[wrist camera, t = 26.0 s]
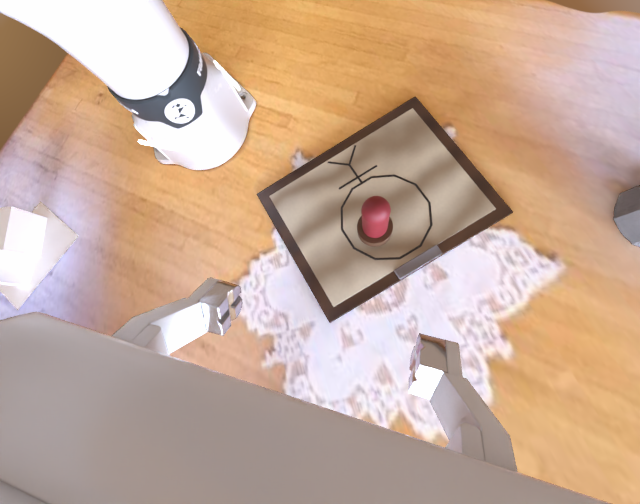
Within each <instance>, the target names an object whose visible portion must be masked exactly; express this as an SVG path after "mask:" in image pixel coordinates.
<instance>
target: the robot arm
mask: <svg viewBox="0 0 640 504" xmlns="http://www.w3.org/2000/svg"><path fill="white" fill-rule="evenodd" d="M0 13H2V14H4V15H6V16H8V17H11V18H13V19H15V20H17V21H19V22H21V23H23V24H25V25H27V26H28V27H30V28H32V29H34V30H36V31H37V32H39V33H41V34H42V35H44V36H46V37H47V38H49V39H50V40H52V41H53V42H54V43H56V44H57V45H59V46H60V47H61V48H62V49H64V50H65V51H66V52H67V53H69V54H70V55H71V56H72V57H74V58H75V59H76V60H77V61H79V62H80V63H81V64H82V65H84V66H85V67H86V68H87V69H88V70H90V71H91V72H92V73H93V74H94V75H95V76H97V77H98V78H99V79H100V80H101V81H102V82H104V83H105V84H106V85H107V87H108V89H109V91H110V92H111V94H112V95H113V96H114V97H115V98H116V99H117V100H118V102H119V103H120V104H121V105H122V106H124V107H125V108H126V109H127V110H129V111H130V112H132V118H133V121H134V127H135V128H136V129H137V130H138V131H139V132H140V133H141V134H142V135H143V136H144V137H145V138H146V139H147V140H148V141H143V140H138V142H139V143H140V144H142V145H148V146H153V148H154V153H155V157H156V159H157V160H158V161H159V162H160V163H162V164H178V165H181V166H183V167H185V168H188V169H192V170H206V169H211V168H214V167H217V166H219V165H221V164H223V163H224V162H226V161H227V160H229V159H230V158H231V157H232V156H233V155H234V154H235V153H236V152H237V151H238V150H239V148H240V147H241V145H242V144H243V142H244V140H245V137H246V134H247V130H248V123H249V118H250V116H251V115H252V113H253V111H254V109H255V107H256V101H255V99H254V98H253V96H252V95H251V94H250V93H249V92H247V91H246V90H245V89H244V88H243V87H242V86H241V85H240V84H239V83H238V82H237V81H236V80H235V79H234V78H233V77H232V76H231V75H230V74H229V73H228V72H227V71H226V70H225V69H224V68H223V67H222V66H221V65H220V64H218V63H217V62H216V61H215V60H214V59H213V58H212V57H211V56H210V55H209V54H208V53H201V52H200V50H199V48H198V47H197V45H196V44H195V42H194V41H193V40H192V38H191V37H190V36H189V35H188V34H187V32H186V31H184V30H183V29H182V28H180V27H179V25H178V24H177V22H176V21H175V19H174V18H173V16H172V14H171V13H170V11H169V10H168V8H167V7H166V5H165V3H164V2H163V0H0ZM244 98H245V99H244ZM243 99H244V100H243ZM240 293H241V287H240V286H239V285H236V284H232V283H229V282H225V281H222V280H218V279H214V278H211V277H210V278H208V279H207V280H206V281H205V282H204V283H203V284H202V285H201V286H199V287H198V288H197V289H196V290H195V291H194V292H193V293H192V294H191V295H190V296H189V297H188V298H183V299H180V300H178V301H175V302H172V303H170V304H167V305H164V306H161V307H159V308H156V309H153V310H151V311H148V312H145V313H143V314H140V315H137V316H135V317H132V318H131V319H130V320H129V321H128V322H127V323H126V324H124V325H123V326H122V327H121V328H120V329H119V330H118V331H116V332H115V333H114V334H113V335H112V336H109V335H106V334H103V333H100V332H97V331H94V330H91V329H88V328H85V327H82V326H79V325H76V324H73V323H70V322H67V321H64V320H61V319H58V318H56V317H53V316H50V315H47V314H44V313H40V312H31V313H27V314H22V315H18V316H14V317H10V318H7V319H3V320H0V504H611V503H608V502H605V501H602V500H599V499H596V498H593V497H590V496H587V495H584V494H581V493H578V492H575V491H572V490H569V489H566V488H563V487H560V486H557V485H554V484H551V483H548V482H545V481H542V480H539V479H536V478H533V477H530V476H527V475H524V474H521V473H518V472H517V467H516V463H515V458H514V453H513V449H512V444H511V439H510V436H509V434H508V433H507V432H506V430H505V429H504V428H503V426H502V425H501V424H500V422H499V421H498V420H497V418H496V417H495V416H494V414H493V413H492V412H491V410H490V409H489V408H488V406H487V405H486V404H485V402H484V401H483V400H482V398H481V397H480V396H479V394H478V393H477V392H476V390H475V389H474V388H473V386H472V385H471V384H470V382H469V381H468V380H467V379H466V378H463V375H462V366H461V358H460V349H459V344H458V343H456V342H452V341H448V340H444V339H440V338H436V337H432V336H428V335H424V334H421V333H419V335H418V337H417V342H416V346H414V348H413V351H412V355H411V359H410V370H411V374H410V377H409V389H408V393H411V394H414V395H417V396H420V397H423V398H426V399H429V400H430V403H431V405H432V407H433V409H434V411H435V413H436V415H437V417H438V419H439V421H440V423H441V425H442V427H443V429H444V431H445V433H446V435H447V437H448V439H449V443H448V444H447V446H446V447H445V448H444V447H441V446H438V445H435V444H432V443H429V442H426V441H423V440H420V439H417V438H414V437H411V436H408V435H405V434H402V433H399V432H396V431H393V430H390V429H387V428H384V427H381V426H378V425H375V424H372V423H369V422H366V421H363V420H360V419H357V418H354V417H351V416H348V415H345V414H342V413H339V412H336V411H333V410H330V409H327V408H324V407H321V406H318V405H315V404H312V403H309V402H306V401H303V400H300V399H297V398H294V397H291V396H288V395H285V394H282V393H279V392H276V391H273V390H270V389H267V388H264V387H262V386H259V385H256V384H253V383H250V382H247V381H244V380H241V379H238V378H235V377H232V376H229V375H226V374H223V373H220V372H217V371H214V370H211V369H208V368H205V367H202V366H199V365H196V364H193V363H190V362H187V361H184V360H181V359H178V358H175V357H172V356H170V353H172V352H173V351H175V350H177V349H179V348H180V347H182V346H184V345H186V344H187V343H189V342H191V341H192V340H194V339H196V338H198V337H199V336H201V335H203V334H204V333H206V331H207V332H211V333H214V334H218V335H222V336H224V334H225V333H226V331H227V330H228V329H229V327H230V326H231V321H232V320H234V319H236V318H237V316H238V315H239V313H240V311H241V308H242V299H241V297H240V296H239V294H240Z"/></svg>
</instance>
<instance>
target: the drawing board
mask: <svg viewBox="0 0 640 504" xmlns="http://www.w3.org/2000/svg"><path fill="white" fill-rule="evenodd" d="M257 196H258V197H259V199H260V201H261V203H262V204H263V206H264V208H265V210H266V211H267V213H268V215H269V217H270V218H271V220H272V222H273V224H274V225H275V227H276V229H277V231H278V233H279V234H280V236H281V238H282V240H283V241H284V243H285V245H286V247H287V248H288V250H289V252H290V254H291V255H292V257H293V259H294V261H295V262H296V264H297V266H298V268H299V270H300V271H301V273H302V275H303V277H304V278H305V280H306V282H307V284H308V285H309V287H310V289H311V291H312V292H313V294H314V296H315V298H316V299H317V301H318V303H319V305H320V306H321V308H322V310H323V312H324V314H325V315H326V317H327V319H328V321H329V322H330V323H331V322H332V321H334V320H336V319H337V318H339V317H341V316H342V315H344V314H346V313H347V312H349V311H351V310H352V309H354V308H356V307H357V306H359V305H361V304H362V303H364V302H366V301H367V300H369V299H371V298H372V297H374V296H376V295H377V294H379V293H381V292H382V291H384V290H385V289H387V288H389V287H390V286H392V285H394V284H395V283H397V282H399V281H400V280H402V279H404V278H405V277H407V276H409V275H410V274H412V273H414V272H415V271H417V270H419V269H420V268H422V267H424V266H425V265H427V264H429V263H430V262H432V261H434V260H435V259H437V258H439V257H440V256H442V255H444V254H445V253H447V252H449V251H450V250H452V249H454V248H455V247H457V246H458V245H460V244H462V243H463V242H465V241H467V240H468V239H470V238H472V237H473V236H475V235H477V234H478V233H480V232H482V231H483V230H485V229H487V228H488V227H490V226H492V225H493V224H495V223H497V222H498V221H500V220H502V219H503V218H505V217H507V216H508V215H510V214H512V213H513V211H512V210H511V209H510V208H509V207H508V205H507V204H506V203H505V202H504V201H503V199H502V198H501V197H500V196H499V195H498V194H497V192H496V191H495V190H494V189H493V188H492V186H491V185H490V184H489V183H488V182H487V181H486V179H485V178H484V177H483V176H482V175H481V173H480V172H479V171H478V170H477V169H476V168H475V166H474V165H473V164H472V163H471V162H470V160H469V159H468V158H467V157H466V156H465V155H464V153H463V152H462V151H461V150H460V149H459V147H458V146H457V145H456V144H455V143H454V141H453V140H452V139H451V138H450V137H449V136H448V134H447V133H446V132H445V131H444V130H443V128H442V127H441V126H440V125H439V124H438V123H437V121H436V120H435V119H434V118H433V117H432V115H431V114H430V113H429V112H428V111H427V110H426V108H425V107H424V106H423V105H422V104H421V102H420V101H419V100H418V99H417V98H416V97H414V98H412V99H410V100H409V101H407V102H405V103H404V104H402V105H401V106H399V107H397V108H396V109H394V110H392V111H391V112H389V113H388V114H386V115H384V116H383V117H381V118H379V119H378V120H376V121H375V122H373V123H371V124H370V125H368V126H366V127H365V128H363V129H362V130H360V131H358V132H357V133H355V134H353V135H352V136H350V137H349V138H347V139H345V140H344V141H342V142H340V143H339V144H337V145H336V146H334V147H332V148H331V149H329V150H327V151H326V152H324V153H323V154H321V155H319V156H318V157H316V158H314V159H313V160H311V161H310V162H308V163H306V164H305V165H303V166H301V167H300V168H298V169H297V170H295V171H293V172H292V173H290V174H288V175H287V176H285V177H284V178H282V179H280V180H279V181H277V182H275V183H274V184H272V185H271V186H269V187H267V188H266V189H264V190H262V191H261V192H259V193H258V194H257ZM372 196H381V197H383V198H385V199H386V200H387V201H388V202H389V204H390V208H391V212H390V218H391V220H392V222H393V231H392V234H391V237H390V239H389V240H388V241H387V242H386V243H385V244H383V245H381V246H378V247H372V246H368V245H366V244H364V243H363V242H362V241H361V240H360V238H359V236H358V232H357V223H358V220H359V218H360V217H361V216H362V214H361V208H362V205H363V203H364V202H365V200H367V199H368V198H369V197H372Z"/></svg>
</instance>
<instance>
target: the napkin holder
mask: <svg viewBox="0 0 640 504" xmlns="http://www.w3.org/2000/svg"><path fill="white" fill-rule="evenodd" d="M34 208H35V209H34V210H33V211H32V213H31V212H27V211H24V210H21V209H18V208H15V207H12V206H11V207H3V208H0V291H1V293H2V294H3V295H4V296H5V297H6V298H7V299H8V300H9V301H10V302H11V304H12V305H13V306H14V307H15V308H16V309H17V310H18V309H19V308H20V307H21V306H22V304H23V303H24V302H25V301H26V300H27V298H28V297H29V296H30V295H31V294H32V292H33V291H34V290H35V289H36V287H37V286H38V285H39V284H40V283H41V281H42V280H43V279H44V278H45V277H46V275H47V274H48V273H49V272H50V270H51V269H52V268H53V267H54V266H55V264H56V263H57V262H58V261H59V259H60V258H61V257H62V256H63V255H64V253H65V252H66V251H67V250H68V249H69V247H70V246H71V245H72V244H73V242H74V241H75V240H76V239H77V238H78V235H77V234H76V233H75V232H74V231H73V230H71V229H70V228H69V227H68V226H67V225H66V224H65V223H64V222H63V221H62V220H60V219H59V218H58V217H57V216H56V215H55V214H54V213H53V212H52V211H50V210H49V209H48V208H47V207H46V206H45V205H44V204H43V203H42V202H40V203H39V204H38V205H37V207H34Z"/></svg>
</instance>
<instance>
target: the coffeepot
mask: <svg viewBox="0 0 640 504" xmlns="http://www.w3.org/2000/svg"><path fill="white" fill-rule="evenodd" d="M613 219H614V221H615V223H616V225H617V227H618V229H619V230H620V232H621V233H622V234H623V236H624V237H625V238H626V239H628V240H629V241H630V242H631V244H633V245H635V246H638V247H640V185H639V186H636V187H634V188H632V189H629V190H627V191H625V192H622V193H620V195H619V197H618V200H617V203H616V205H615V209H614V218H613Z"/></svg>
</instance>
